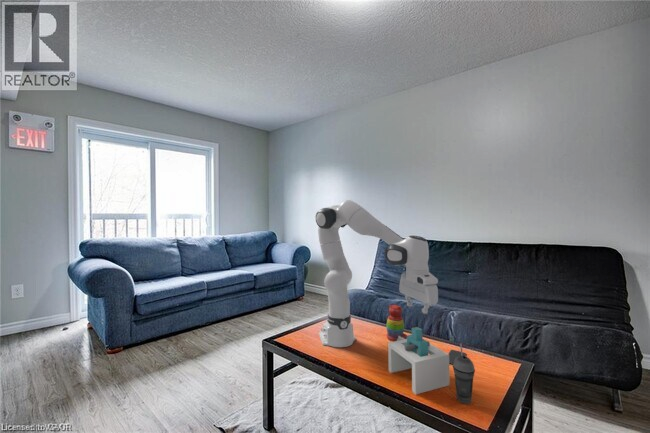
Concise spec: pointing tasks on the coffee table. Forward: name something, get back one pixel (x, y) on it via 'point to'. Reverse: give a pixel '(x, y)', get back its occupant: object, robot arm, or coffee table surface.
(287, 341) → the coffee table surface
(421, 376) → the shelf
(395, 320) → the stacking bear
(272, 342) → the coffee table surface
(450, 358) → the smartphone
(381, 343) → the coffee table surface
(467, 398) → the beverage cup
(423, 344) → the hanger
